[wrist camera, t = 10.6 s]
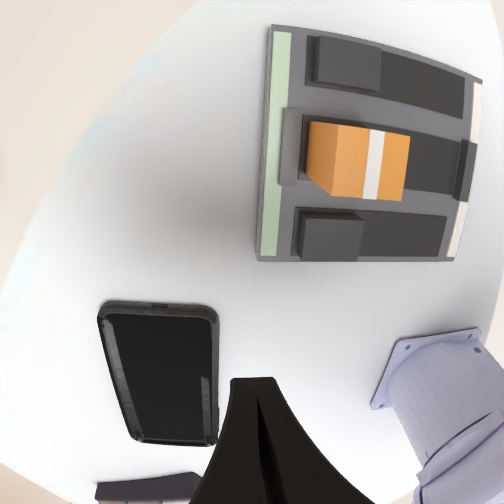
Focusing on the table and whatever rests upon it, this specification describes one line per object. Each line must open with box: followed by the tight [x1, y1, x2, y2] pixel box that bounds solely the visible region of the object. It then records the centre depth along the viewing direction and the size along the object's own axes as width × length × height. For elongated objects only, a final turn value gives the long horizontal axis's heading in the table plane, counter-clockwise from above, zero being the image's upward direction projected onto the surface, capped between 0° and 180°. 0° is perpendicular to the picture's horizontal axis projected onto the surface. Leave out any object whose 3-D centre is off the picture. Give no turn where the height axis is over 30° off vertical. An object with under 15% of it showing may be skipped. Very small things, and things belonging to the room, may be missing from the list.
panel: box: [256, 24, 483, 262], centre depth 15 cm, size 13×12×2 cm
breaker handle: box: [305, 121, 410, 201], centre depth 13 cm, size 3×3×4 cm
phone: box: [97, 301, 219, 447], centre depth 22 cm, size 8×1×15 cm
